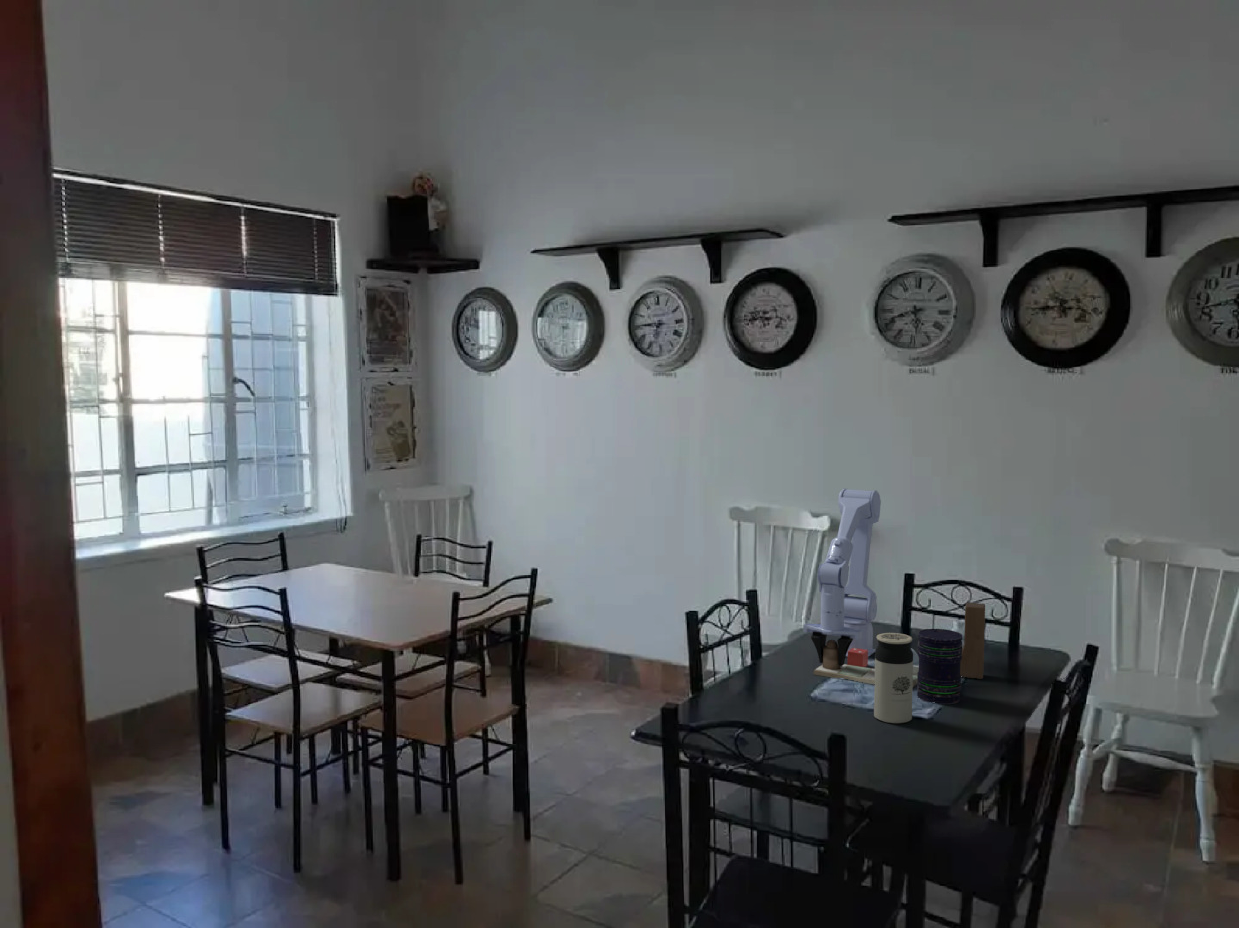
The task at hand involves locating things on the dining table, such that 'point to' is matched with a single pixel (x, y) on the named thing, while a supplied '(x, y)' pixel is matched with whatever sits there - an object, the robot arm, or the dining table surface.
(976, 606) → the wooden block
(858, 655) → the red die
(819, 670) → the track board
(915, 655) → the dome
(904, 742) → the dining table surface
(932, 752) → the dining table surface
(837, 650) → the pawn
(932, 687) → the storage jar
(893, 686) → the travel mug
